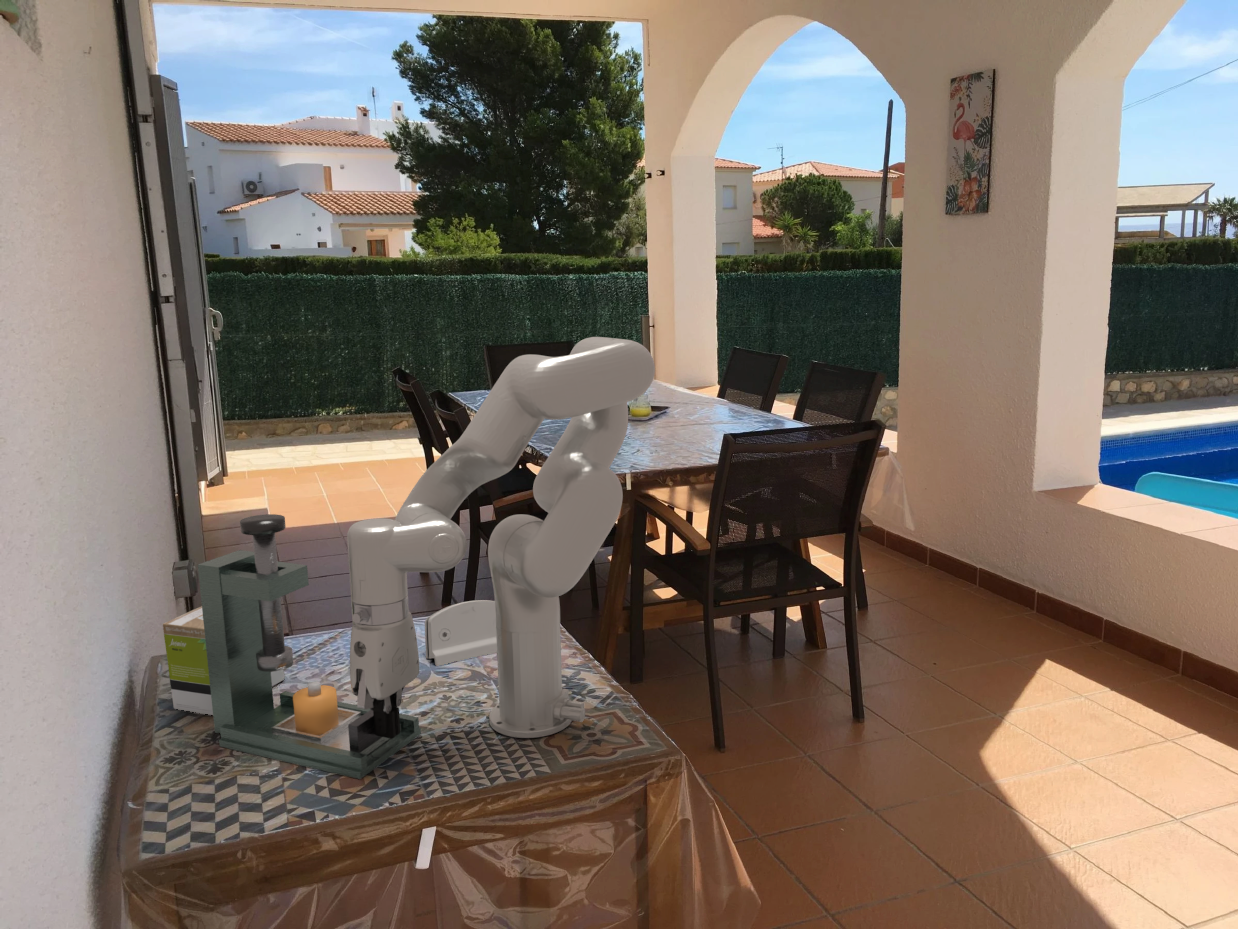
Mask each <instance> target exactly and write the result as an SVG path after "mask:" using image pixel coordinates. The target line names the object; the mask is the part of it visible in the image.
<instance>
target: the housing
mask: <svg viewBox="0 0 1238 929" xmlns="http://www.w3.org/2000/svg"><path fill="white" fill-rule="evenodd" d="M306 686H307V687H304V688H301V689H299V690H297V691H296V692H294V693H295V694H294V695H293V704H294V715H295V727H296V731H299V732H304V733H308V734H313V735H320V734H324V733H326V732H327V731H329V730H330V729H332V728H333V727H335V726H336V725H338V724H339V719H338V706H337V701H338V696H337V695H338V694H337V689H336V688H335V687H334V686H332V685H326V684H323V685H322V684H321V682H320V681H311V682H308V683H307V685H306Z"/></svg>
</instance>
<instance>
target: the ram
mask: <svg viewBox="0 0 1238 929" xmlns="http://www.w3.org/2000/svg"><path fill="white" fill-rule="evenodd" d="M285 518H286V517H285V515H281V514H276V513H275V514H274V513H273V514H271V513H270V514H257V515H253V516H252V515H251V516H247V517H244V518H242V519H240V520H239V526H240V527H239V528H240V533H241V534H242V535H247V536H252V541H253V542H252V543H253V552H254V556H255V567H256V574H263V575H269V574H272V573H274V572H277V571H278V562H279V561H278V553H277V542H276V540H277V539H276V534H277V533H279V532H282V531H284V530H285V529H286V528H287V527H286V519H285ZM277 561H278V562H277ZM259 611H260V622H261V633H262V644H263V649H262V650H260V651H258V652H257V653H256V659H257V668H258V670H260V671H264V672H273V671H280V670H283V669H284V670H286V669H289V668H290V667H292V666H293V665H294V654H293V648H292V647H291V646H288V645H285V634H284V623H283V612H282V599H281V597H279V598H277V599H275V600H272V601H264V600H259Z"/></svg>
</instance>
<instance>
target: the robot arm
mask: <svg viewBox="0 0 1238 929" xmlns="http://www.w3.org/2000/svg"><path fill="white" fill-rule="evenodd" d="M655 373H656V365H655V361H654V358H653V356H652V354H651V352H650V351H649V350H648V348H647V347H645V346H644V345H643V344H642V343H639V342H637V341H634V340H631V339H623V338H614V337H608V336H607V337H606V336H605V337H604V336H603V337H602V336H590V337H586V338H584V339H582V340H579V341H578V342H577V343H576V344H575V345H574V346H573V348H572V350H571V351H570V353H569V354H568V355H560V356H547V355H541V354H522V355H519V356H517V357H515V358H514V359H512V360H511V361H510V362H509V363H508V365H507V366H505V368H504V370H503V371H502V373H501V374H500V376H499V378H497V380H496V382H495V383H494V385H493V386H492V388H491V390H490V391H489V392H488V394H487V396H486V397H485V399H484V400H483V402H482V403H481V405H480V407H479V408H478V409H477V411H476V413H475V415H474V416H473V418H472V419H471V420H470V422H469V424H468V425H467V427H466V429H465V430H464V431H463V433H462V434H461V435H460V437H459V438H458V439H457V440H456V441H455V442H454V443H453V444H451V445H450V447H448V448H447V449H446V451H444V453H442V454H441V455H440V456H439V457H438V458H437V459H436V460H435V461H434V462H433V463H432V464H431V465H430V466H429V467H428V468H427V469H426V471H425V472H423V474H422V475H421V476H420V477H419V479H418V480H417V481H416V482H415V485H414V486H413V488H412V490H411V491H409V494H408V496H407V497H406V498H405V500H404V502H403V503H402V504H401V507H400V509H399V510H398V512H397V514H396V516H395V518H394V519H391V518H385V517H384V518H368V519H363V520H359V521H357V522H353V524H352V525H350V527H349V529H348V530H347V534H346V538H347V541H346V542H347V557H348V571H349V589H350V602H351V615H352V616H351V618H352V626H351V633H350V642H349V643H350V645H349V678H350V680H349V681H350V686H351V691H352V694H353V695H354V696H355V697H357V701H356V703H357V704H356V705H357V707H358V708H360V709H365V710H367V709H370V710H372V711H373V715H374V732H375V735H376V736H381V737H386V738H390V739H393V738H394V737H395V736H396V735H398V734H400V717H399V714H400V706H401V705H402V700H403V699H402V697H403V696H402V695H403V694H402V693H403V691H404V689H405V687H406V686H407V685H408V684H410V683H411V682H412V681H414V680H416V678H417V677H418V676H419V674H420V657H419V646H418V641H417V640H418V639H417V638H418V637H417V632H416V628H415V623H414V619H413V615H412V613H411V611H410V610H409V593H408V576H407V575H408V573H441V572H444V571H449V570H451V569H453V568H454V567H456V566H457V565H458V564H460V562H461V561H462V560H463V559H464V557H465V556H466V553H467V548H468V542H467V537H466V535H465V532H464V531H463V529H462V528H461V527H460V526H459V525H458V524H457V523H456V522H455V521H453V520H452V517H453V516H454V515H455V513H456V511H457V510H458V508H459V507H460V506H461V505H462V503H463V502H464V500H466V499H467V498H468V496H469V495H471V493H473V492H474V491H475V490H476V489H478V488H479V487H481V486H482V485H484V484H486V483H488V482H490V481H494V480H497V479H498V478H500V477H502V476H504V475H506V474H508V473H509V472H510V471H512V470H513V469H514V468H515V466H516V465H517V463H518V461H519V459H520V458H521V456H522V455H523V453H524V451H525V449H526V448H527V446H528V444H529V443H530V442H531V441H532V439H533V437H534V436H535V434H536V433H537V431H538V429H539V428H540V427H541V425H542V423H543V421H544V420H552V421H557V420H565V419H569V418H570V421H569V422H568V424H567V426H566V428H565V430H564V431H563V434H561V436H560V438H559V440H558V441H557V442H556V445H554V447H553V449H552V451H550V454H549V456H548V457H547V458H546V459H545V461H544V463H543V465H542V466H541V468H540V469H539V471H538V473H537V475H536V476H535V479H534V481H533V487H532V492H533V494H532V495H533V498H534V500H535V501H536V503H537V505H538V506H539V507H540V508H541V509H542V510H544V511H545V512H547V515H546V517H545V518H544V519H541V518H539V517H537V516H534V515H530V514H524V513H523V514H513V515H510V516H507V517H506V518H504V519H502V520H500V522H499V523H498V524H497V525H495V527H494V529H493V530H492V532H491V534H490V536H489V540H488V547H487V556H488V557H487V558H488V565H489V566H488V567H489V570H490V576H491V582H492V587H493V594H494V601H495V613H496V638H497V653H496V656H497V660H496V661H497V662H496V663H497V680H498V682H497V683H498V703H497V704H496V705H495V706H494V707H493V708H492V709H491V710H490V712H489V715H488V718H489V725H490V727H491V728H492V729H493V731H496V732H497V733H499V734H501V735H504V736H506V737H507V736H508V737H510V738H518V739H535V738H542V737H546V736H550V735H553V734H556V733H558V732H559V733H560V732H561V731H563V730H565V728H567V727H568V726H569V725H570V724H571V723H572V721H573V722H578V723H579V722H580V723H583V721H584V720H585V718H586V710H585V702H583V701H576V700H575V701H574V700H571V698H570V696H569V689H568V688H563V680H562V679H563V678H562V642H561V639H562V638H561V637H562V636H561V606H560V597H561V596H562V595H564V594H567V593H568V592H569V591H570V590H572V589H573V588H574V587H575V586H576V585H577V583H578V582H579V581H581V580H580V579H581V578H582V577H583V576H584V574H585V573H586V572H587V569H588V568H589V567H590V564H592V561H593V560H594V559H595V557H596V555H597V553H598V552H599V550H600V548H601V546H602V545H603V544H604V542H605V540H606V538H607V537H608V535H609V534H610V532H611V530H612V528H614V526H615V524H616V522H617V521H618V520H617V519H618V517H619V515H620V512H621V509H622V505H623V499H624V498H623V497H624V496H623V487H622V484H621V481H620V478H618V475H617V474H616V473H615V472H614V471H613V470H612V469H611V466H612V464H613V462H614V460H615V459H616V456H617V454H618V452H619V451H620V449H621V447H622V445H623V444H624V440H625V439H626V435H627V432H628V425H629V409H628V408H629V407H628V402H631V401H634V400H635V399H638V398H639V397H641V396H642V395H643V394H645V393H646V392H647V391H648V389H649V388H650V387H651V384H652V383H653V381H654V378H655ZM559 596H560V597H559Z"/></svg>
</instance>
